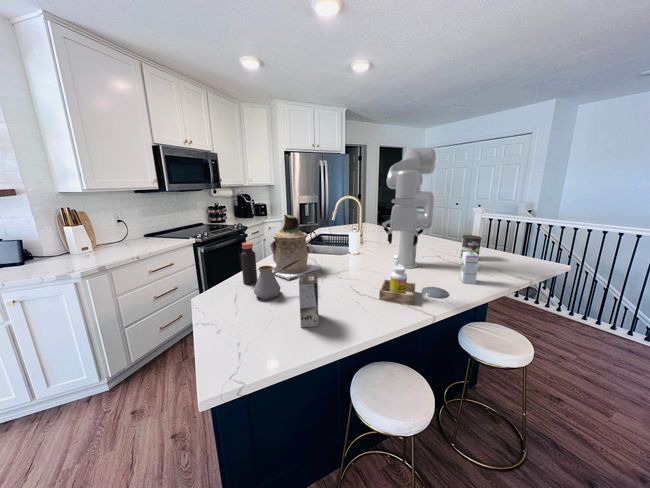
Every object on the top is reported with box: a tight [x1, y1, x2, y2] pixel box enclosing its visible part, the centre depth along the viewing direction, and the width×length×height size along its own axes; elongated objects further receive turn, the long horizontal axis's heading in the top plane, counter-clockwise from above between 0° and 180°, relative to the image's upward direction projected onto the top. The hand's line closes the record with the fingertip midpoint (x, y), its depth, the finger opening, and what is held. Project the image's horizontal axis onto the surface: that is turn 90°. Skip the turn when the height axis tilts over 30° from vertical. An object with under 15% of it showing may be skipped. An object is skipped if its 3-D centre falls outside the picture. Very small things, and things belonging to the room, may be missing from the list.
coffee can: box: [459, 234, 482, 260], centre depth 161 cm, size 10×10×14 cm
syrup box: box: [459, 252, 480, 285], centre depth 125 cm, size 6×6×14 cm
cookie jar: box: [268, 213, 321, 281], centre depth 142 cm, size 25×25×32 cm
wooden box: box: [378, 279, 416, 306], centre depth 111 cm, size 13×13×4 cm
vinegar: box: [240, 241, 258, 286], centre depth 126 cm, size 7×7×20 cm
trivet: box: [421, 286, 450, 299], centre depth 114 cm, size 11×11×1 cm
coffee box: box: [298, 273, 319, 328], centre depth 91 cm, size 9×6×16 cm
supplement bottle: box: [389, 265, 408, 294], centre depth 110 cm, size 7×7×13 cm
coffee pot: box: [253, 260, 301, 300], centre depth 113 cm, size 21×12×15 cm, turn 109°
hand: (402, 244), depth 107 cm, fingers open, 9 cm apart
